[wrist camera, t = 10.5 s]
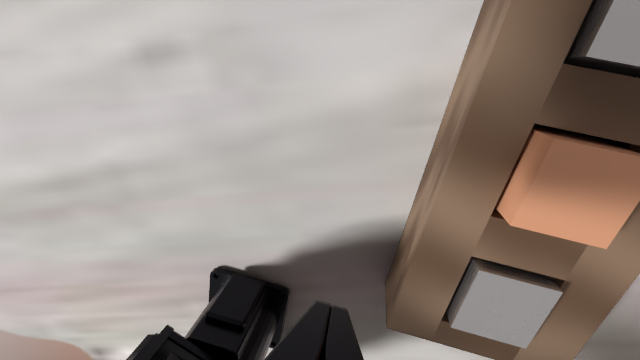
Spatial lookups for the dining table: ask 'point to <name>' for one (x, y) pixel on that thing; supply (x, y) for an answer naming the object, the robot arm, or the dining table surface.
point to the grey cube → (502, 302)
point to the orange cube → (571, 187)
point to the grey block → (609, 38)
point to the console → (493, 172)
